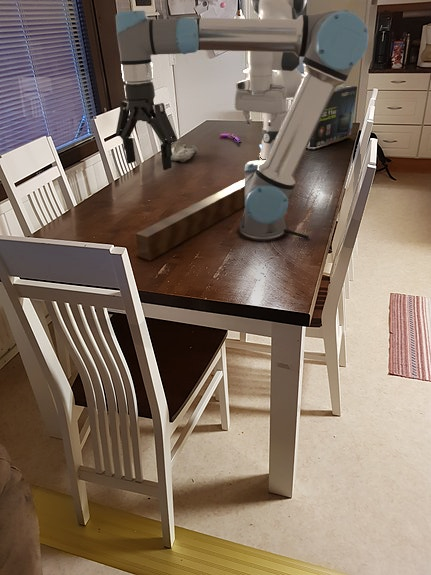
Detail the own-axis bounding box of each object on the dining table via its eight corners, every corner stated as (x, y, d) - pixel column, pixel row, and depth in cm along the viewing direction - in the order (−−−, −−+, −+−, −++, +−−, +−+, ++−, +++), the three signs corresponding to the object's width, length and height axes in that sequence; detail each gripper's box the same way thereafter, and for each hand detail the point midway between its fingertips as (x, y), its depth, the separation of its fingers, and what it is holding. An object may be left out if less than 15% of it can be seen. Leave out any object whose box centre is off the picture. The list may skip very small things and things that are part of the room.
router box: (314, 151, 231) (318, 94, 217) (296, 148, 237) (299, 92, 224) (352, 138, 251) (358, 85, 238) (335, 135, 258) (340, 83, 245)
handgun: (220, 136, 265) (220, 133, 264) (233, 135, 266) (233, 132, 265) (227, 145, 248) (227, 141, 247) (241, 143, 249) (241, 140, 248)
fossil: (184, 156, 217) (163, 136, 220) (174, 174, 223) (154, 154, 227) (205, 153, 231) (186, 134, 234) (195, 171, 237) (176, 152, 240)
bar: (150, 260, 135) (147, 237, 131) (138, 256, 138) (135, 233, 134) (271, 190, 184) (272, 171, 180) (261, 188, 186) (262, 170, 182)
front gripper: (186, 81, 112) (192, 167, 123) (115, 78, 125) (126, 156, 136) (165, 86, 107) (174, 175, 118) (94, 82, 120) (108, 163, 131)
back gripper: (291, 84, 157) (289, 125, 164) (241, 81, 167) (241, 120, 175) (282, 86, 152) (280, 129, 160) (231, 83, 163) (232, 124, 170)
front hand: (149, 165), depth 127 cm, fingers open, 13 cm apart
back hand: (259, 124), depth 167 cm, fingers open, 8 cm apart
